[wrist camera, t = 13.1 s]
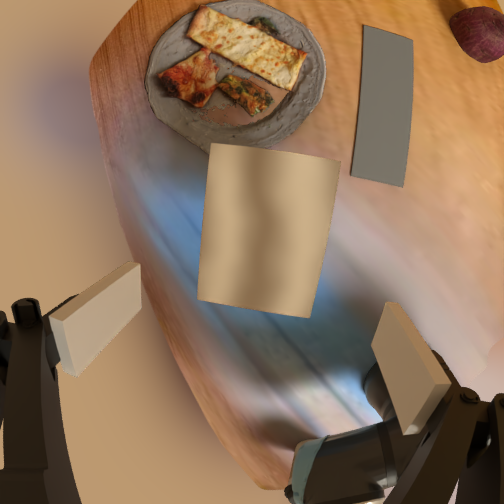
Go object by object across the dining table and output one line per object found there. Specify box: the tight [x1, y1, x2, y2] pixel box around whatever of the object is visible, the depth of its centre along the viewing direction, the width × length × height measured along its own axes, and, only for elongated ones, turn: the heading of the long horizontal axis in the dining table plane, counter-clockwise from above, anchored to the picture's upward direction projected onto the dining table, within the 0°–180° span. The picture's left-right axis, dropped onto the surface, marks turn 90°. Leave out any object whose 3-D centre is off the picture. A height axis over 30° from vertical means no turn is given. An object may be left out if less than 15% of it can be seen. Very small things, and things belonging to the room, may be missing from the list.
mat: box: [351, 25, 413, 188], centre depth 33 cm, size 8×24×1 cm, turn 173°
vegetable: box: [450, 6, 504, 63], centre depth 21 cm, size 10×10×15 cm
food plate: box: [144, 0, 326, 155], centre depth 33 cm, size 25×23×4 cm
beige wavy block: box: [197, 143, 341, 318], centre depth 26 cm, size 10×14×4 cm
